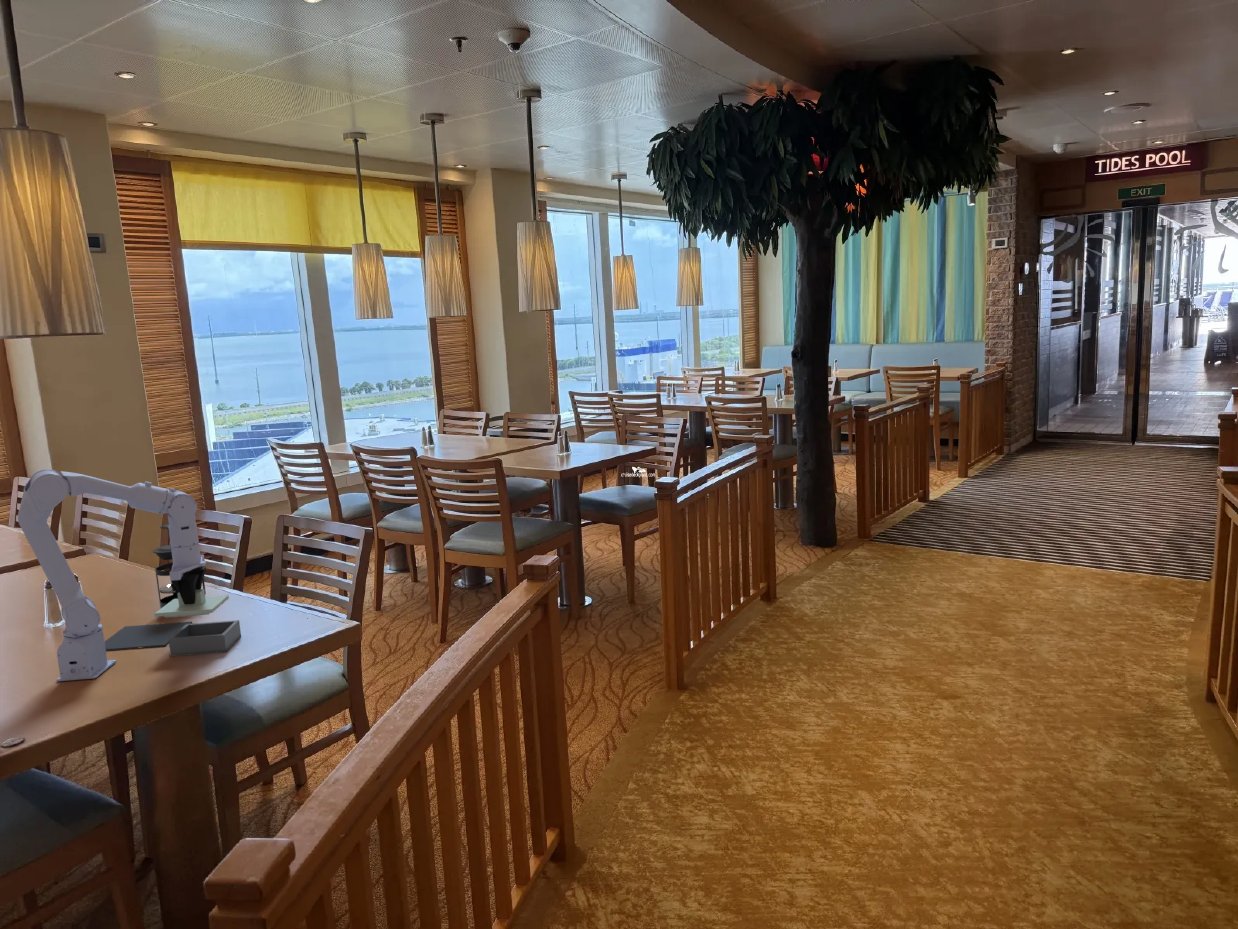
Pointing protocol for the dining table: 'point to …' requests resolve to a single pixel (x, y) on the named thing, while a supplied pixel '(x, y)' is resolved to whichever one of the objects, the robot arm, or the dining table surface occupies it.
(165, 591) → the french press
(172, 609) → the lid
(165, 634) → the mat
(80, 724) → the dining table surface
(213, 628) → the tub
